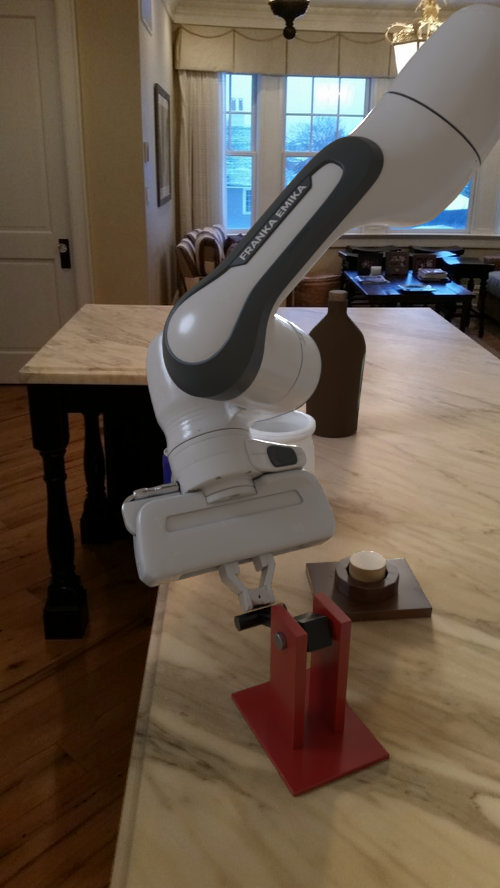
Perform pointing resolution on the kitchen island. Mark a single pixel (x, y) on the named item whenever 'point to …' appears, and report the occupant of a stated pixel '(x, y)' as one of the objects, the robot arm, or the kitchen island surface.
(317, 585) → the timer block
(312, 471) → the jar
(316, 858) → the kitchen island surface
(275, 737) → the red lever stand
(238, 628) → the lever
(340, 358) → the olive oil
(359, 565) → the button
